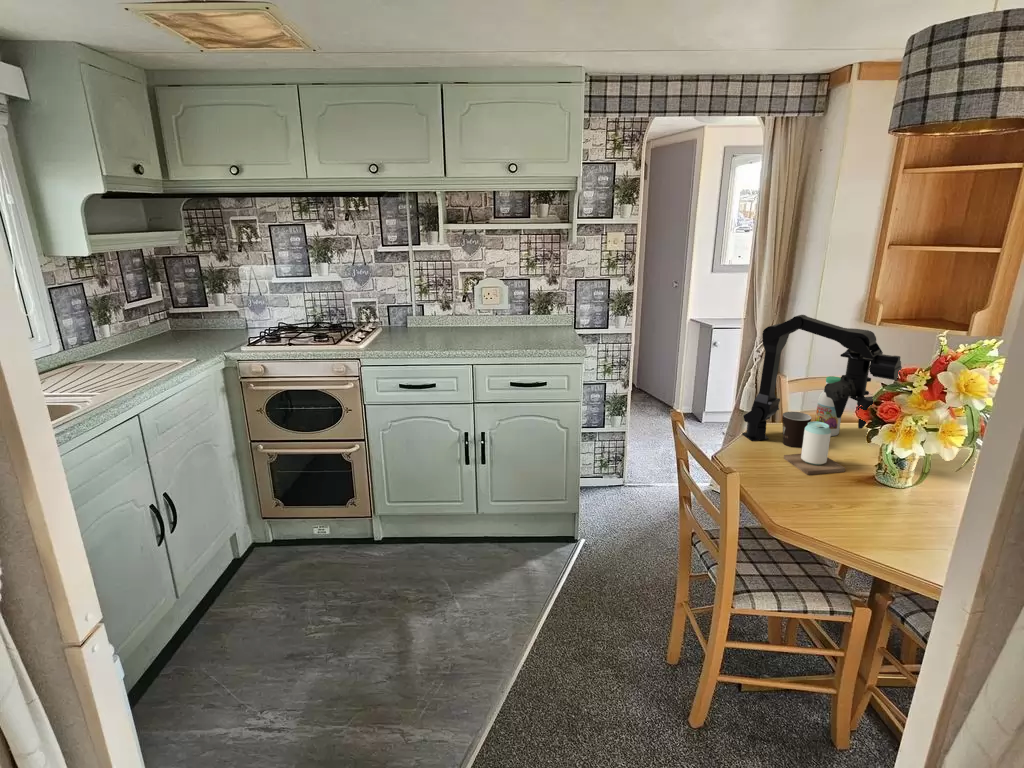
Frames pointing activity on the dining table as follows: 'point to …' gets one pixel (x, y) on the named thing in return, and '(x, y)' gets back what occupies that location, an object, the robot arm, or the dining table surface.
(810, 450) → the can
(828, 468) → the base board
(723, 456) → the dining table surface
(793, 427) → the coffee mug
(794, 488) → the dining table surface
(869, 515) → the dining table surface
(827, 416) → the milk bottle
